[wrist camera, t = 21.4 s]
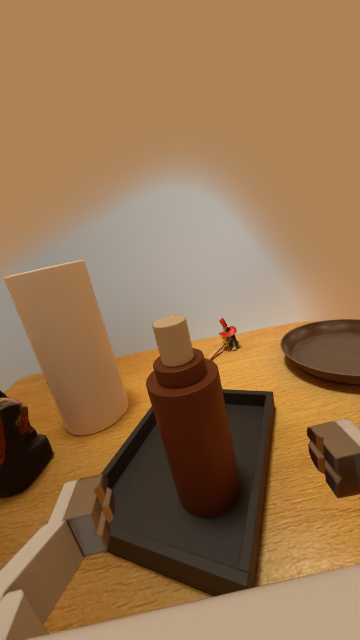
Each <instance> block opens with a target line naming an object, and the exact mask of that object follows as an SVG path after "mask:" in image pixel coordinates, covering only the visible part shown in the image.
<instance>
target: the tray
mask: <svg viewBox="0 0 360 640" xmlns="http://www.w3.org/2000/svg"><path fill="white" fill-rule="evenodd" d="M222 392H223V397H224V402H225V407H226V412H227V417H228V423H229V428H230V433H231V438H232V443H233V448H234V454H235V459H236V464H237V469H238V474H239V479H240V494H239V497H238V499H237V501H236V503H235V504H234V506H233V507H232V508H231V509H230V510H229V511H227V512H226V513H224V514H222V515H220V516H218V517H214V518H201V517H197V516H194V515H192V514H191V513H189V512H188V511H187V510H186V509H185V508H184V507H183V506H182V504H181V502H180V500H179V497H178V494H177V490H176V487H175V483H174V480H173V476H172V473H171V469H170V466H169V463H168V459H167V456H166V452H165V449H164V445H163V442H162V439H161V435H160V432H159V428H158V425H157V421H156V418H155V414H154V411H153V408H152V407H151V408H150V410H149V411H148V412H147V413H146V415H145V416H144V417H143V419H142V420H141V421H140V423H139V424H138V425H137V427H136V428H135V429H134V431H133V432H132V433H131V435H130V436H129V437H128V439H127V440H126V441H125V443H124V444H123V445H122V447H121V448H120V449H119V451H118V452H117V453H116V455H115V456H114V457H113V459H112V460H111V461H110V463H109V464H108V465H107V467H106V468H105V469H104V471H103V472H102V473H101V474H106V476H107V478H108V486H107V487H109V488H110V489H112V491H113V494H114V498H115V512H114V518H113V519H112V521H111V522H110V523H109V526H110V529H111V535H110V540H109V545H108V552H110V553H113V554H115V555H118V556H120V557H123V558H125V559H127V560H130V561H132V562H135V563H137V564H139V565H142V566H144V567H147V568H149V569H151V570H154V571H156V572H159V573H161V574H164V575H166V576H168V577H171V578H173V579H176V580H178V581H180V582H183V583H185V584H188V585H190V586H192V587H195V588H197V589H200V590H202V591H205V592H207V593H209V594H212V595H214V596H219V595H223V594H228V593H232V592H236V591H241V590H245V589H250V588H254V587H255V583H256V574H257V565H258V556H259V547H260V538H261V528H262V519H263V510H264V501H265V492H266V483H267V474H268V465H269V455H270V446H271V437H272V428H273V419H274V410H275V405H274V398H273V392H267V391H246V390H225V389H222Z"/></svg>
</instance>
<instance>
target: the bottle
mask: <svg viewBox="0 0 360 640" xmlns="http://www.w3.org/2000/svg"><path fill="white" fill-rule="evenodd" d="M152 326H153V330H154V334H155V338H156V341H157V346H158V349H159V353H160V357H158V358H157V359H156V360H155V362H154V364H153V368H154V371H153V372H152V373H151V374H150V375H149V377H148V378H147V381H146V387H147V390H148V394H149V397H150V401H151V404H152V408H153V411H154V414H155V418H156V421H157V425H158V428H159V432H160V435H161V439H162V442H163V445H164V449H165V452H166V456H167V459H168V463H169V466H170V469H171V473H172V476H173V480H174V483H175V487H176V490H177V494H178V497H179V500H180V502H181V504H182V506H183V507H184V508H185V509H186V510H187V511H188V512H189V513H191V514H192V515H194V516H197V517H201V518H214V517H218V516H220V515H222V514H224V513H226V512H227V511H229V510H230V509H231V508H232V507H233V506H234V504H235V503H236V501H237V499H238V497H239V494H240V479H239V474H238V469H237V464H236V459H235V454H234V448H233V443H232V438H231V433H230V428H229V423H228V417H227V412H226V407H225V402H224V397H223V392H222V386H221V381H220V376H219V371H218V367H217V365H216V364H215V363H214V362H213V361H211V360H209V359H206V358H204V355H203V353H202V352H201V351H200V350H198V349H195V348H192V344H191V340H190V336H189V331H188V326H187V322H186V318H185V316H182V315H174V316H168V317H165V318H162V319H159V320H158V321H155V322H154V323H153V325H152Z"/></svg>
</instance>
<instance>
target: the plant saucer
mask: <svg viewBox="0 0 360 640" xmlns="http://www.w3.org/2000/svg"><path fill="white" fill-rule="evenodd" d="M281 349H282V351H283V352H284V354H285V355H286V356H287V357H288V358H289V359H290V360H291V361H292V362H293V363H294V364H295V365H297V366H298V367H300V368H301V369H303V370H304V371H306V372H308V373H310V374H312V375H315V376H317V377H320V378H323V379H327V380H330V381H335V382H340V383H348V384H360V320H355V319H354V320H353V319H342V320H328V321H320V322H315V323H310V324H306V325H303V326H300V327H297V328H295V329H293V330H291V331H289V332H288V333H287V334H286V335H284V336H283V338H282V340H281Z"/></svg>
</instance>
